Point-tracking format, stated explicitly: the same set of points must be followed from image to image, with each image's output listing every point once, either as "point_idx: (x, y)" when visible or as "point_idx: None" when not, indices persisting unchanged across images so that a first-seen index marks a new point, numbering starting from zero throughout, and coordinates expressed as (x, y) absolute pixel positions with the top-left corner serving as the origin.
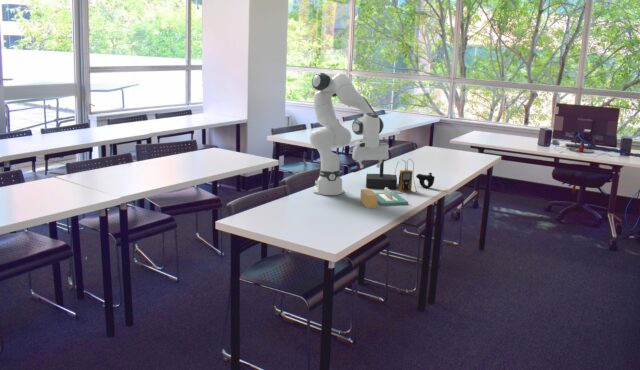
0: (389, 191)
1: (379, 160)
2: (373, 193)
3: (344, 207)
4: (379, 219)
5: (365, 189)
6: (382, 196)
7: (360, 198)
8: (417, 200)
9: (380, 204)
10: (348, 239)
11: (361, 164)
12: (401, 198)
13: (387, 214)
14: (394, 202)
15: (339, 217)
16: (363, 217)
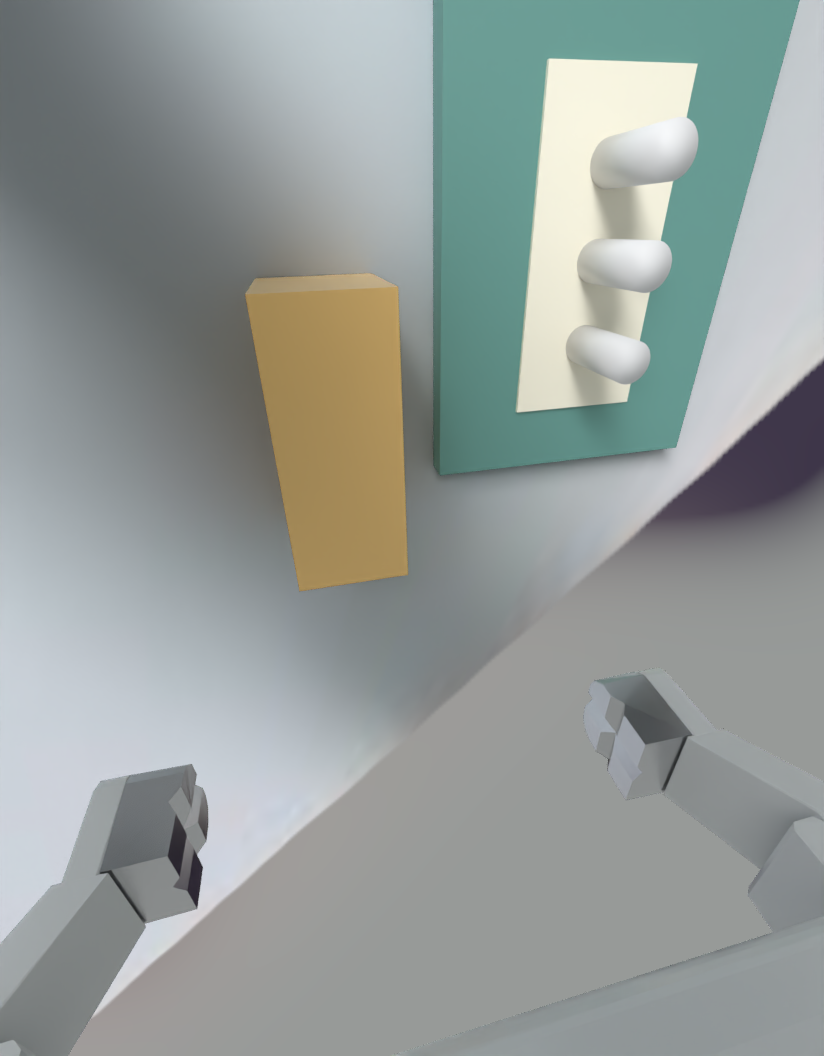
0: (611, 370)
1: (780, 914)
2: (381, 518)
3: (63, 511)
4: (332, 739)
5: (319, 308)
6: (546, 219)
7: (253, 281)
8: (812, 312)
9: (435, 454)
10: (135, 946)
11: (109, 960)
12: (693, 323)
13: (410, 659)
14: (562, 458)
15: (48, 738)
16: (233, 721)
